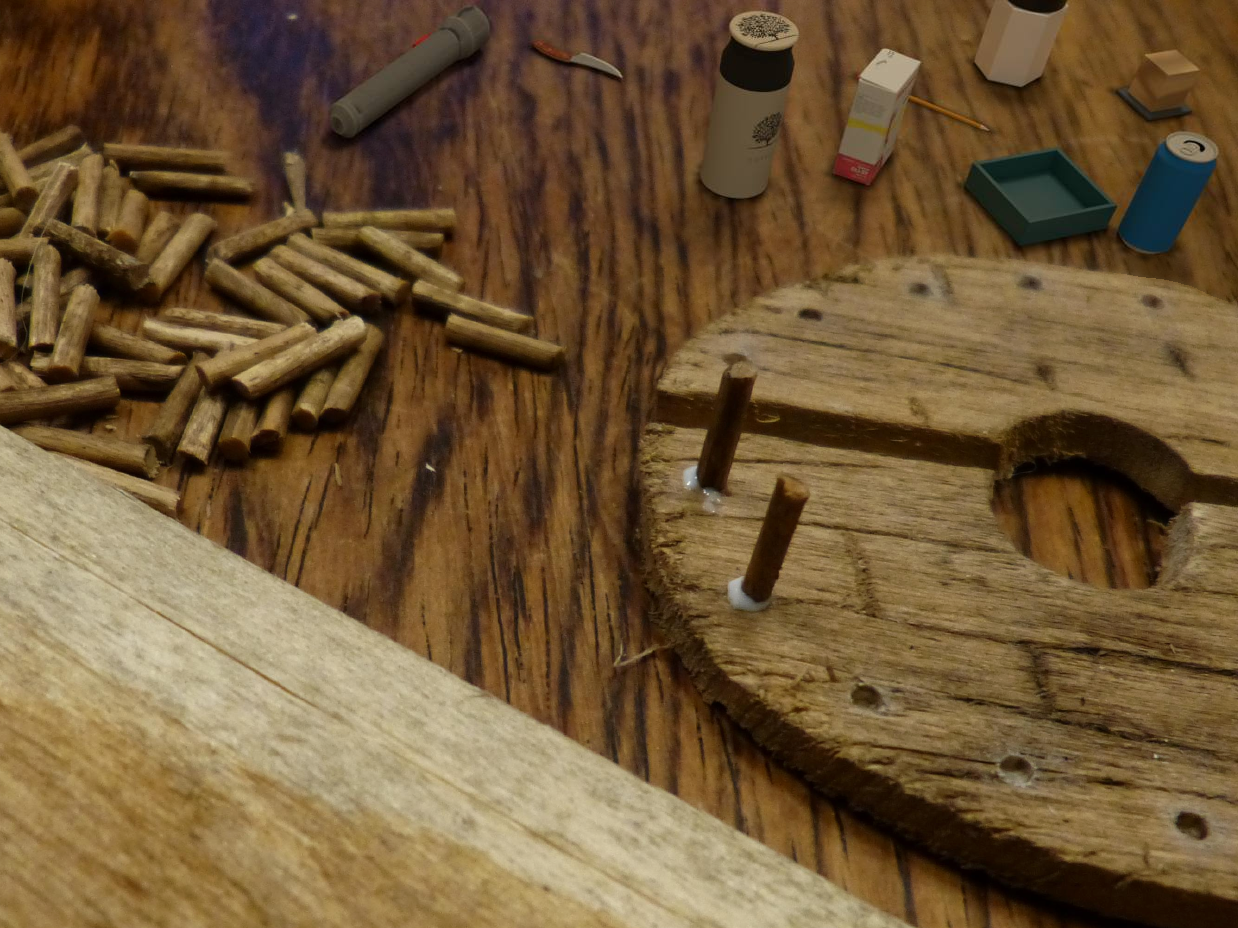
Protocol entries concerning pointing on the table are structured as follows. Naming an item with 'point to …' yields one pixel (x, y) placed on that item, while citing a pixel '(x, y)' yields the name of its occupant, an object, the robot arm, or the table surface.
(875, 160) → the ink box
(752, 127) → the travel mug
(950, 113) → the pencil
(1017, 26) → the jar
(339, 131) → the flashlight
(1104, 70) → the table surface
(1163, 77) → the beech block
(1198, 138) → the beverage can
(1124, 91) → the mat
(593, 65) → the knife
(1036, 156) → the tray
